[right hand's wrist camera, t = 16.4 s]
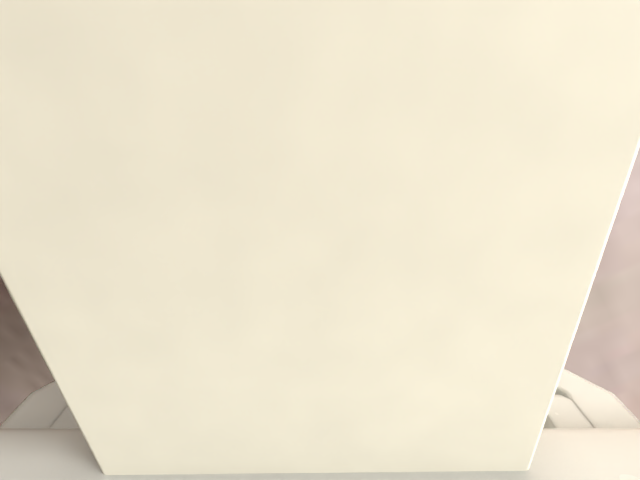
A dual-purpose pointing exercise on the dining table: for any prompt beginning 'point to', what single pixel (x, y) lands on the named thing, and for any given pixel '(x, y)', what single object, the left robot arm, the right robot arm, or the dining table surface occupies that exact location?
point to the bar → (311, 221)
